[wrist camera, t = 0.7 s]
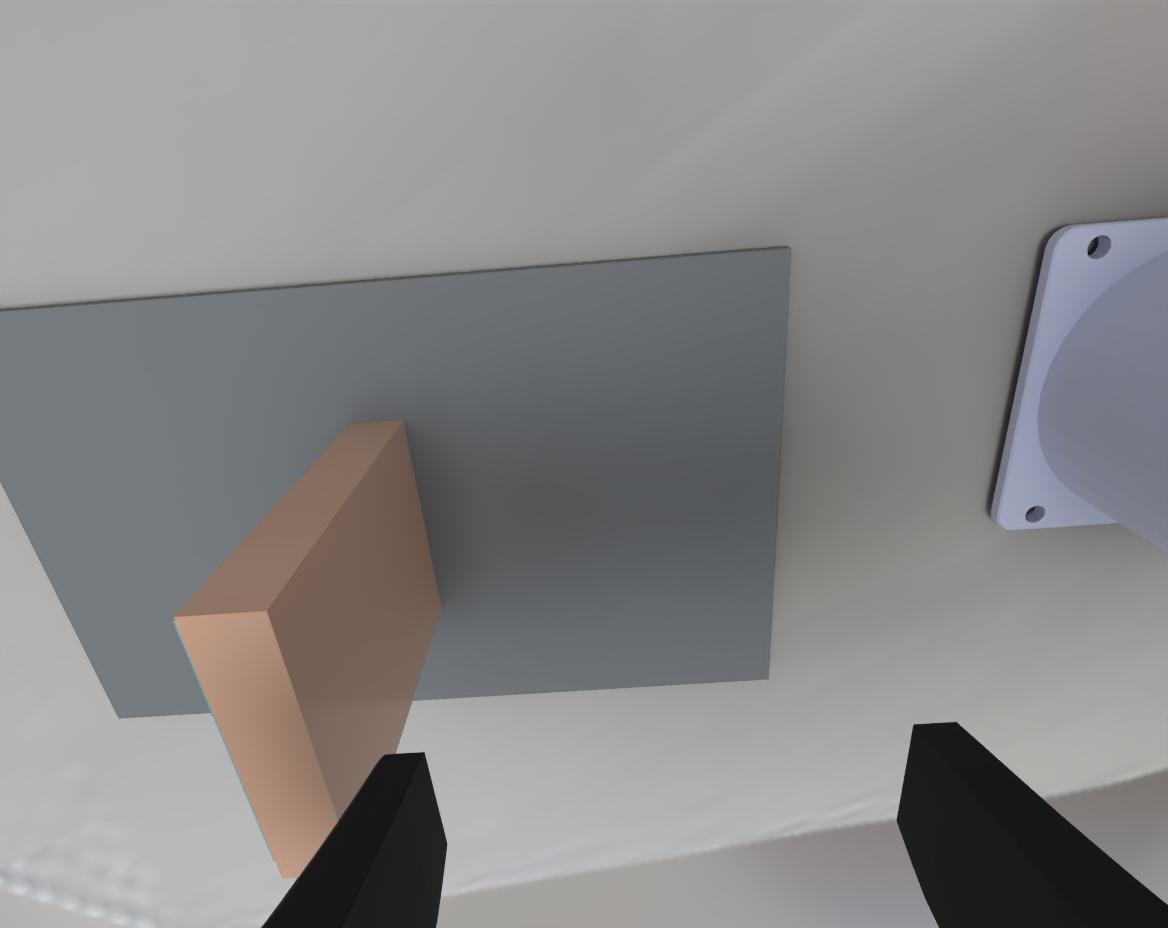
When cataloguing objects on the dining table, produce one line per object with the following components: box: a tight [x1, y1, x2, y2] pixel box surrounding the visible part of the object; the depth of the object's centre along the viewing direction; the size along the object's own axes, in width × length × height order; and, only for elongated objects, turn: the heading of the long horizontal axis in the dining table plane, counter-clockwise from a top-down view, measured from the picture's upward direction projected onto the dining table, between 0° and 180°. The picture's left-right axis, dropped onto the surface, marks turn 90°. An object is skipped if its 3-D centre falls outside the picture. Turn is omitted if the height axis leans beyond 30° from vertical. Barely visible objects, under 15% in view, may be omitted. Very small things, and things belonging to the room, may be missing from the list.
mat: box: [0, 246, 791, 718], centre depth 18 cm, size 21×13×1 cm, turn 94°
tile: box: [173, 420, 442, 878], centre depth 14 cm, size 2×6×8 cm, turn 5°
